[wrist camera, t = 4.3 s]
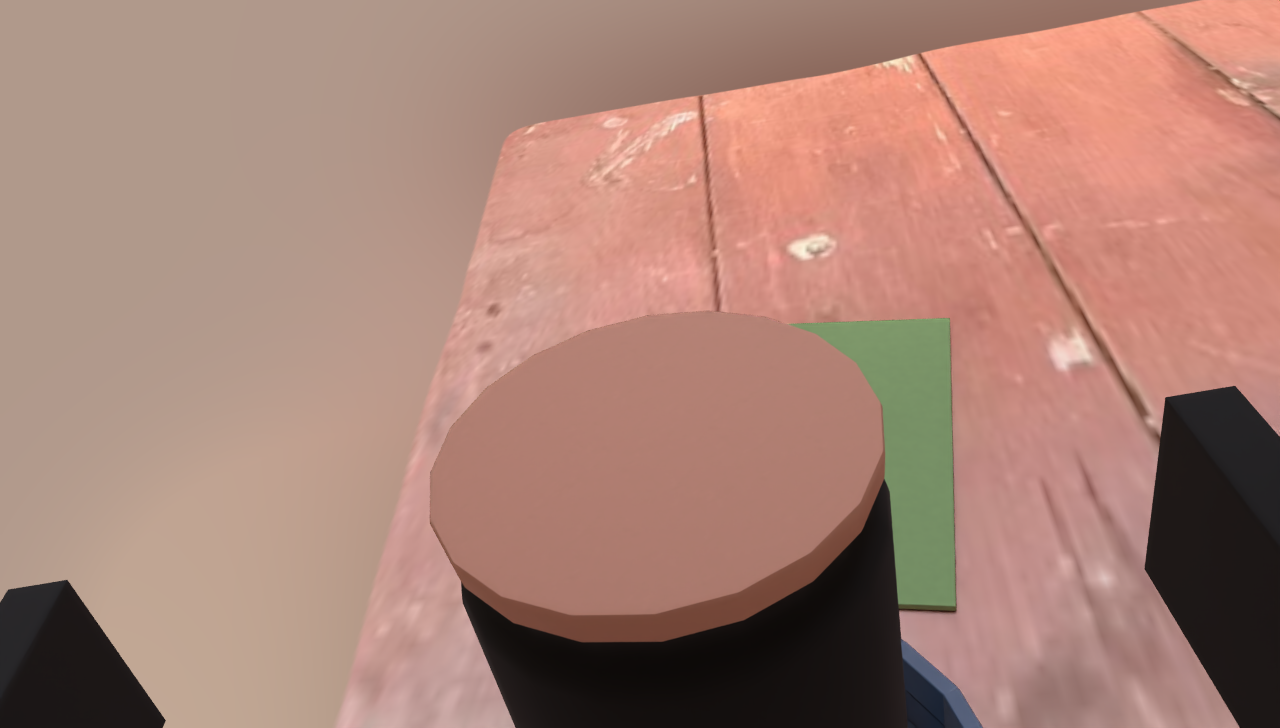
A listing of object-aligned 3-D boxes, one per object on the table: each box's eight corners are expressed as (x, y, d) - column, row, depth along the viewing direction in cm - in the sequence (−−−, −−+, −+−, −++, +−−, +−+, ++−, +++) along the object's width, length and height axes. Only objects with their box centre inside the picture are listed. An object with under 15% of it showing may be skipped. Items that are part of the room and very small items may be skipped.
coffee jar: (587, 1052, 31) (383, 651, 20) (596, 736, 39) (457, 344, 29) (958, 1017, 29) (939, 575, 19) (883, 699, 38) (843, 280, 28)
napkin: (598, 334, 62) (597, 330, 62) (949, 322, 57) (949, 317, 56) (487, 592, 47) (485, 587, 47) (956, 611, 41) (956, 606, 41)
